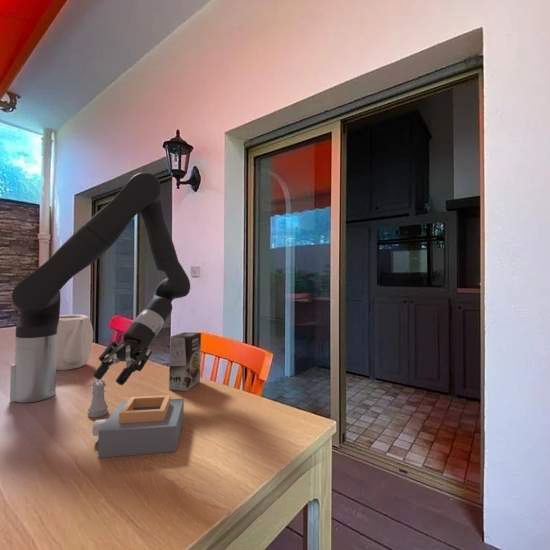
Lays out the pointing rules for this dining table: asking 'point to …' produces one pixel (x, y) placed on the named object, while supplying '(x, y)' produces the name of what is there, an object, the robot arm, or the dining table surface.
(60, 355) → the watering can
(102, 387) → the rook chess piece
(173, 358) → the coffee box
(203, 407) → the dining table surface
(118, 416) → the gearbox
